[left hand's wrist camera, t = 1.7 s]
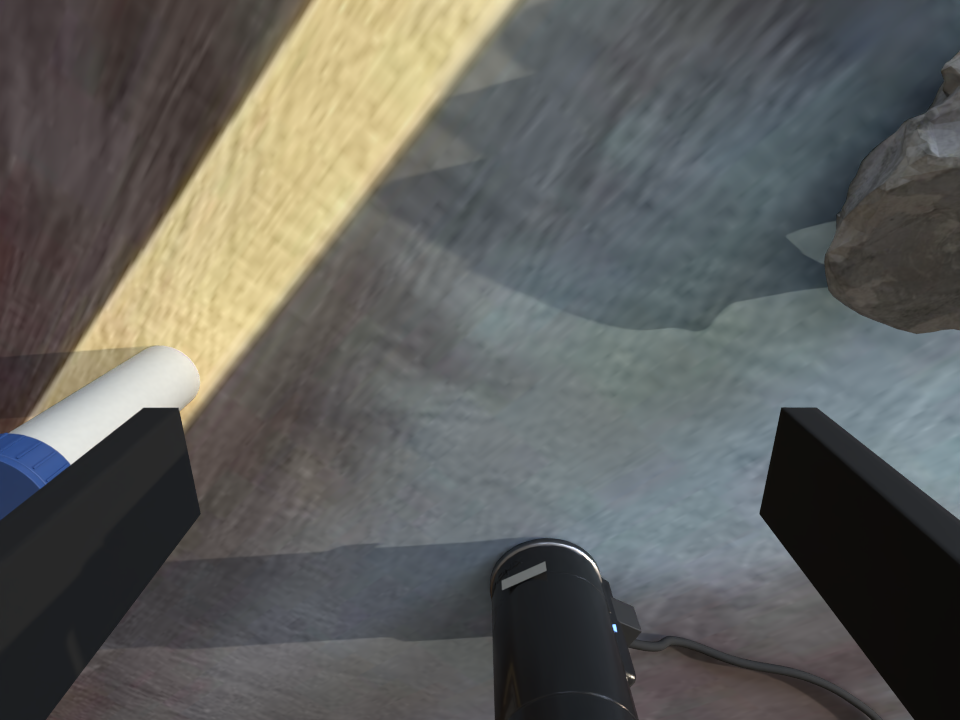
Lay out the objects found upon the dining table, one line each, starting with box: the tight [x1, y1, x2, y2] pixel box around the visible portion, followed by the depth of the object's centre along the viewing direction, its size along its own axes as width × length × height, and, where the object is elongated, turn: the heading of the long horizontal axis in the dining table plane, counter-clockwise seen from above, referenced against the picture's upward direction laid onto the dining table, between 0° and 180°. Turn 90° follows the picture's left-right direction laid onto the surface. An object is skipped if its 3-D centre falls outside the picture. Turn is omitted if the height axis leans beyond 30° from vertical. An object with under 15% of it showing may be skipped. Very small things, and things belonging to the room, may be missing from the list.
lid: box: [0, 433, 71, 520], centre depth 28 cm, size 6×6×2 cm
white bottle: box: [10, 346, 200, 464], centre depth 35 cm, size 5×5×16 cm
